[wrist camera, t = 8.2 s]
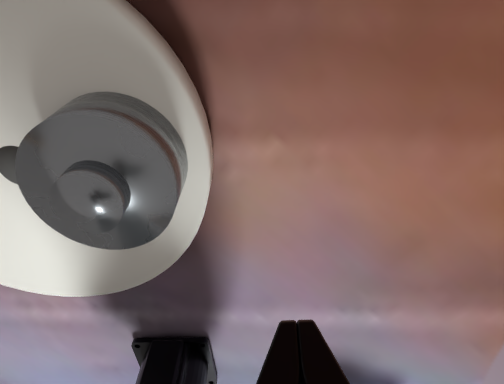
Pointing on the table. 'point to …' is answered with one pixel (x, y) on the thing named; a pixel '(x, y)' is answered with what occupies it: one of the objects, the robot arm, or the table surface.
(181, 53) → the table surface
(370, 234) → the table surface
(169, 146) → the cover
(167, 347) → the robot arm
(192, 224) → the turntable
